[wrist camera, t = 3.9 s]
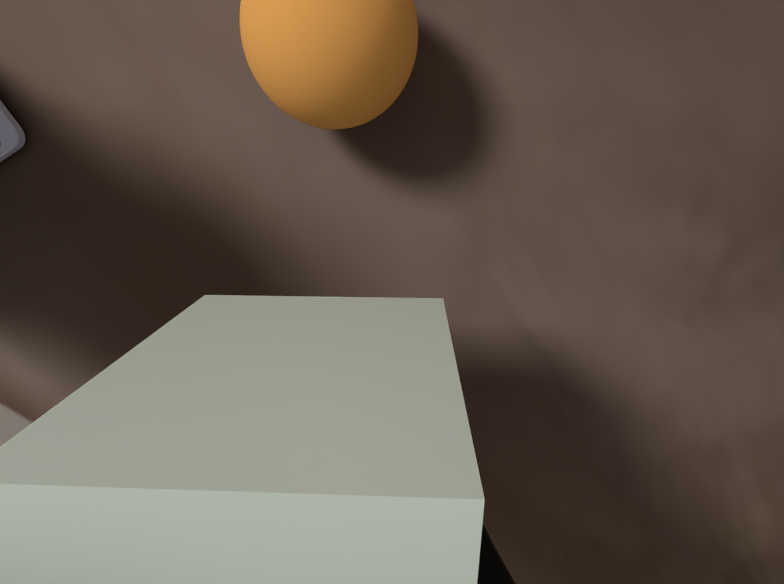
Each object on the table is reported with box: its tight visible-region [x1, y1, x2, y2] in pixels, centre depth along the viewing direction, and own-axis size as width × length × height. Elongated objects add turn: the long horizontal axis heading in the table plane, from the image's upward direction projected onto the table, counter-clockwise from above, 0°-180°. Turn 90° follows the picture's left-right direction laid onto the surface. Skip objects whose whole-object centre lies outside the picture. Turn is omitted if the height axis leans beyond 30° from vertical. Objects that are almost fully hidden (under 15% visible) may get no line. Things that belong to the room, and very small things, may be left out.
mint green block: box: [0, 295, 485, 584], centre depth 10 cm, size 10×6×6 cm, turn 0°
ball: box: [240, 0, 418, 129], centre depth 12 cm, size 5×5×5 cm
